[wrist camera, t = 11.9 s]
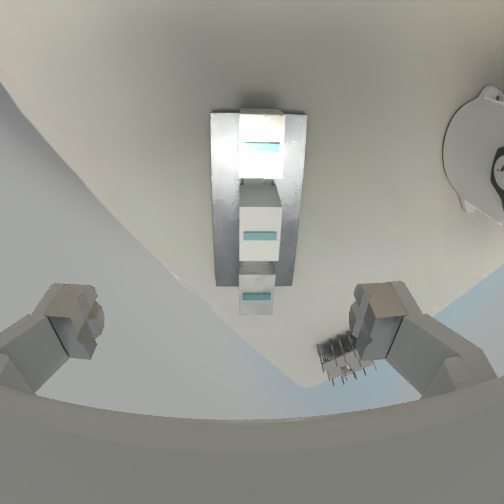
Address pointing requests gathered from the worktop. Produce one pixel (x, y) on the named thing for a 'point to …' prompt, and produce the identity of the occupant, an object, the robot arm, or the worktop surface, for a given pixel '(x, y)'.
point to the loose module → (259, 223)
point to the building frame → (343, 362)
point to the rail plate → (255, 173)
